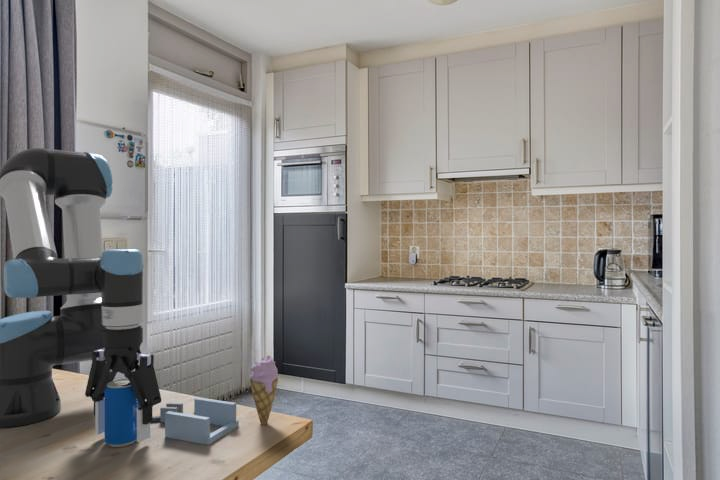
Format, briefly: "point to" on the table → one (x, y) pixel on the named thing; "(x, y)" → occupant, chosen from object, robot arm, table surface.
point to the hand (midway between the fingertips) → (122, 435)
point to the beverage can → (120, 413)
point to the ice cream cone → (264, 386)
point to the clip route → (169, 407)
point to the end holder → (202, 421)
